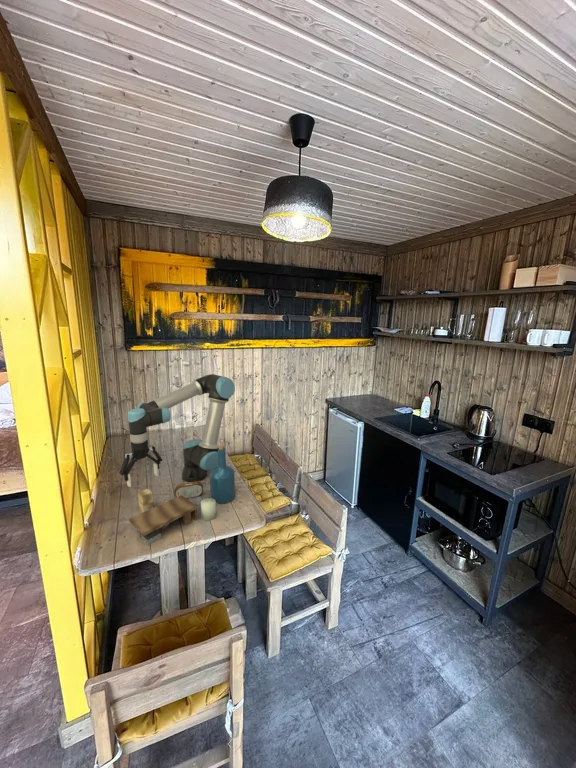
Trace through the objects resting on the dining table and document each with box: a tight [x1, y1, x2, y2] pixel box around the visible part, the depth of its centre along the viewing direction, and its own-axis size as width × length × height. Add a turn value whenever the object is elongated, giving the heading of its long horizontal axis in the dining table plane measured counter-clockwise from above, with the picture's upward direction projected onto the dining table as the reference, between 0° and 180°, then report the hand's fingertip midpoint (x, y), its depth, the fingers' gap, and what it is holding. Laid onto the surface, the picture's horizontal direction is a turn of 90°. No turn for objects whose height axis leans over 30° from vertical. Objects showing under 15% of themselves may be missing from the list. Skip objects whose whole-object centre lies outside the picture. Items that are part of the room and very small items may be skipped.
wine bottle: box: [209, 445, 236, 505], centre depth 170 cm, size 14×13×30 cm
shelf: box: [128, 495, 199, 536], centre depth 149 cm, size 26×14×8 cm, turn 139°
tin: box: [173, 481, 204, 499], centre depth 173 cm, size 15×3×8 cm, turn 111°
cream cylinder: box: [200, 497, 217, 522], centre depth 157 cm, size 7×7×8 cm
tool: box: [137, 488, 170, 529], centre depth 156 cm, size 5×22×10 cm, turn 49°
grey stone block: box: [140, 529, 162, 546], centre depth 141 cm, size 6×6×3 cm
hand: (143, 480), depth 158 cm, fingers open, 13 cm apart
